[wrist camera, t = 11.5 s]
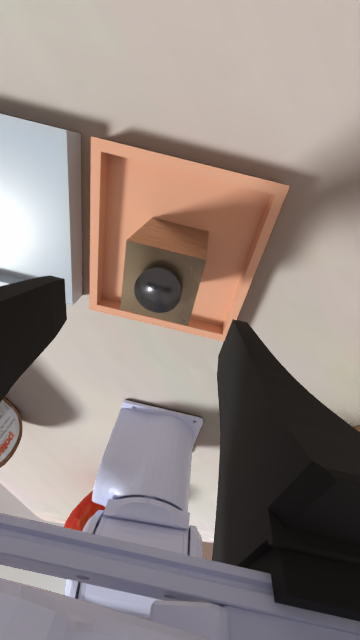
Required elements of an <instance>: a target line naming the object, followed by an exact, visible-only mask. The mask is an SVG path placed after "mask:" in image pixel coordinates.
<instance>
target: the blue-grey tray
mask: <svg viewBox="0 0 360 640" xmlns="http://www.w3.org/2000/svg"><path fill="white" fill-rule="evenodd" d="M50 275H51V276H55V277H59V278H63V279H65V296H66V304H70V305H73V304H74V303H75V302H76V301H77V300H78V299H79V298H80V297H81V296H82V205H81V133H77V132H73V131H69V130H65V129H61V128H57V127H53V126H49V125H45V124H41V123H37V122H33V121H29V120H25V119H21V118H17V117H13V116H9V115H5V114H1V113H0V286H4V285H8V284H12V283H16V282H20V281H24V280H28V279H33V278H37V277H42V276H50Z"/></svg>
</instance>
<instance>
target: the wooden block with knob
mask: <svg viewBox="0 0 360 640" xmlns="http://www.w3.org/2000/svg"><path fill="white" fill-rule="evenodd" d="M208 234H209V231H205V230H201V229H197V228H193V227H189V226H185V225H181V224H177V223H173V222H169V221H165V220H161V219H157V218H153V217H152V218H151V219H150V220H149V221H147V222H146V223H145V224H144V225H143V226H142V227H141V228H140V229H138V230H137V231H136V232H135V233H134V234H133V235H132V236H131V237H130V238H128V239H127V240H126V251H125V262H124V272H123V283H122V294H121V305H120V309H121V310H125V311H129V312H133V313H137V314H141V315H145V316H149V317H154V318H158V319H162V320H166V321H170V322H174V323H178V324H182V325H186V326H188V324H189V321H190V317H191V314H192V310H193V307H194V303H195V300H196V296H197V292H198V289H199V285H200V282H201V278H202V275H203V271H204V268H205V264H206V260H207V248H208Z"/></svg>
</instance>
